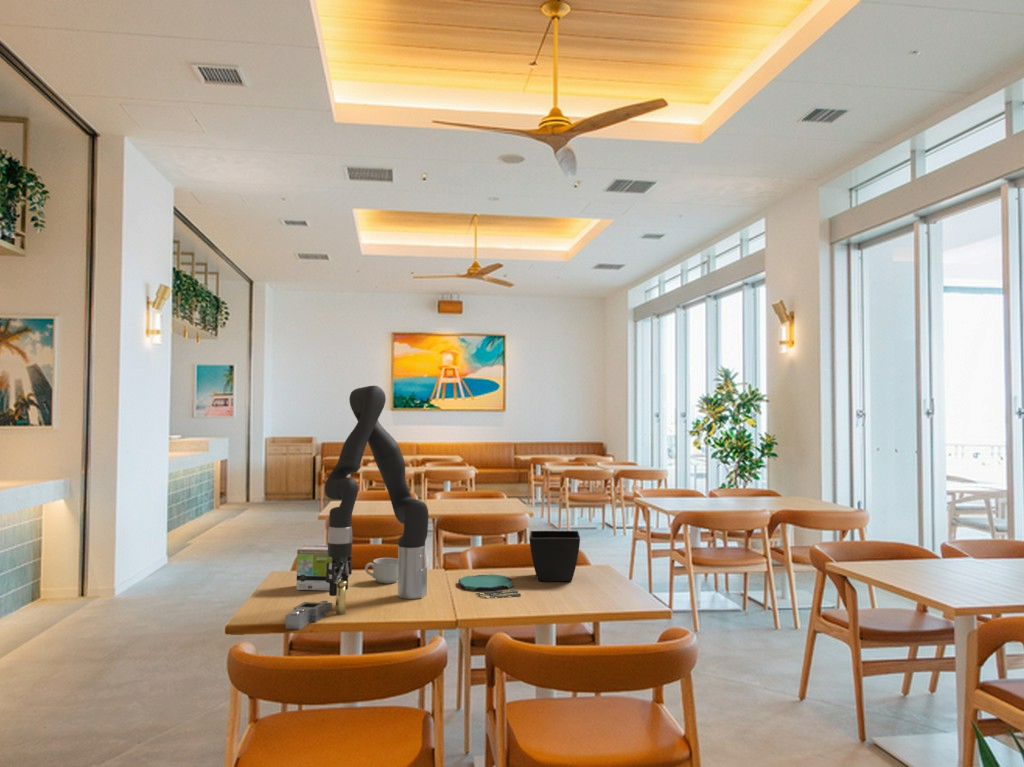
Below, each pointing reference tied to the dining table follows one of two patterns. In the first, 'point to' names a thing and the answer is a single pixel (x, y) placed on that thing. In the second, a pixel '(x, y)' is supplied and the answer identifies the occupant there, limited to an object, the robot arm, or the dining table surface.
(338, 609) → the pin
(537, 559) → the flower pot
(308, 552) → the tea box
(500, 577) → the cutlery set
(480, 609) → the dining table surface
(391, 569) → the teacup
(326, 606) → the grey studded bar
